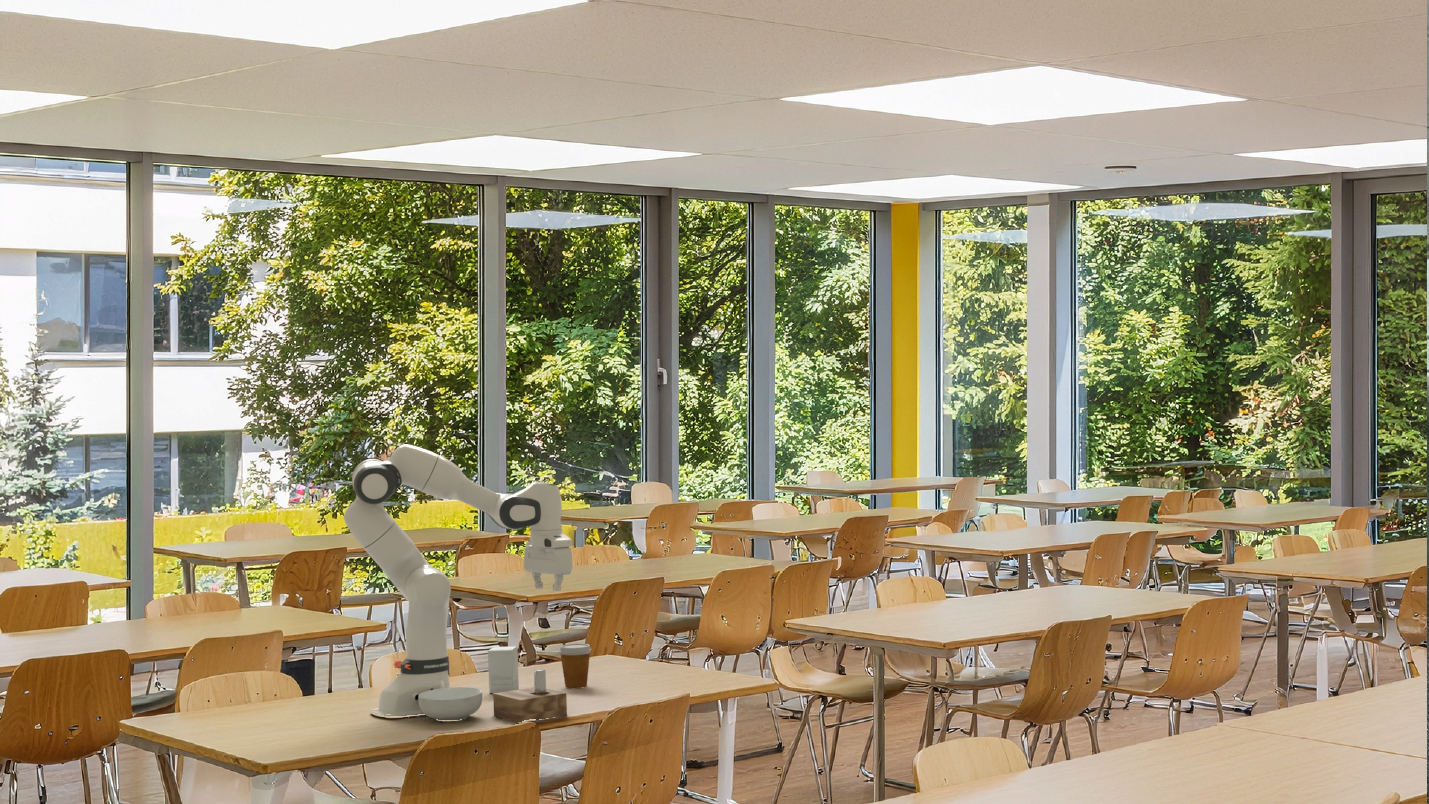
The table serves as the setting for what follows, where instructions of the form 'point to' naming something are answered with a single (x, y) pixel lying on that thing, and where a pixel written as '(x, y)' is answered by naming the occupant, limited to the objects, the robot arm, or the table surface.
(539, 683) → the pin
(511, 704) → the socket block
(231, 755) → the table surface
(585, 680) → the disposable coffee cup
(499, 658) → the supplement box
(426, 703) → the cereal bowl
